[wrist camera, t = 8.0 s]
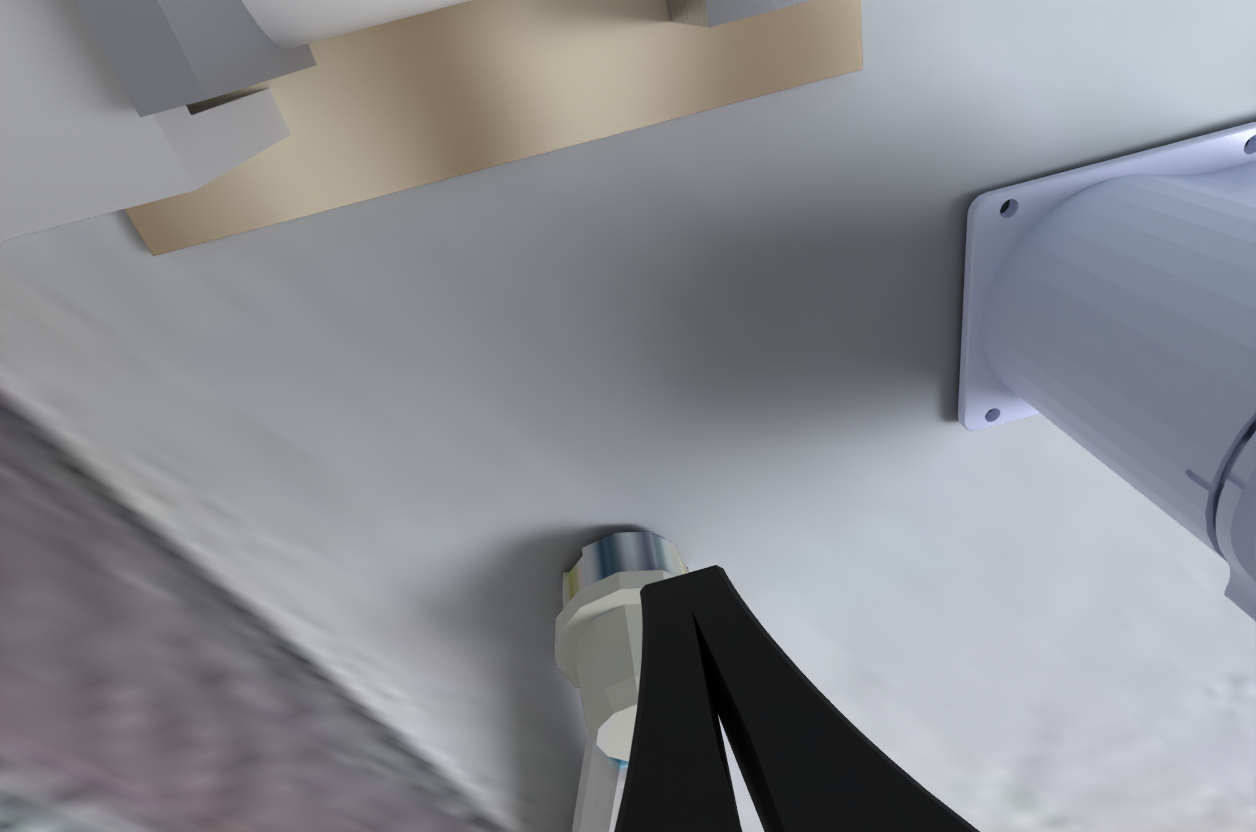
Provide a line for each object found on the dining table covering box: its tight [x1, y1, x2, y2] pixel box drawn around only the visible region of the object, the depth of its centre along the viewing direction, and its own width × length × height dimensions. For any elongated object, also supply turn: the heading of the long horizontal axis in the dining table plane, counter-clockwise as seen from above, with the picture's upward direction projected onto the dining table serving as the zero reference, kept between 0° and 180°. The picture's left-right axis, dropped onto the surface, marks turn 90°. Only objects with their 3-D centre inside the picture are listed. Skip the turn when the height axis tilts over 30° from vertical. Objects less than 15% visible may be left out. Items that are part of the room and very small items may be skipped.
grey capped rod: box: [555, 532, 689, 832], centre depth 28 cm, size 5×7×25 cm
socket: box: [0, 0, 291, 242], centre depth 12 cm, size 4×6×6 cm
